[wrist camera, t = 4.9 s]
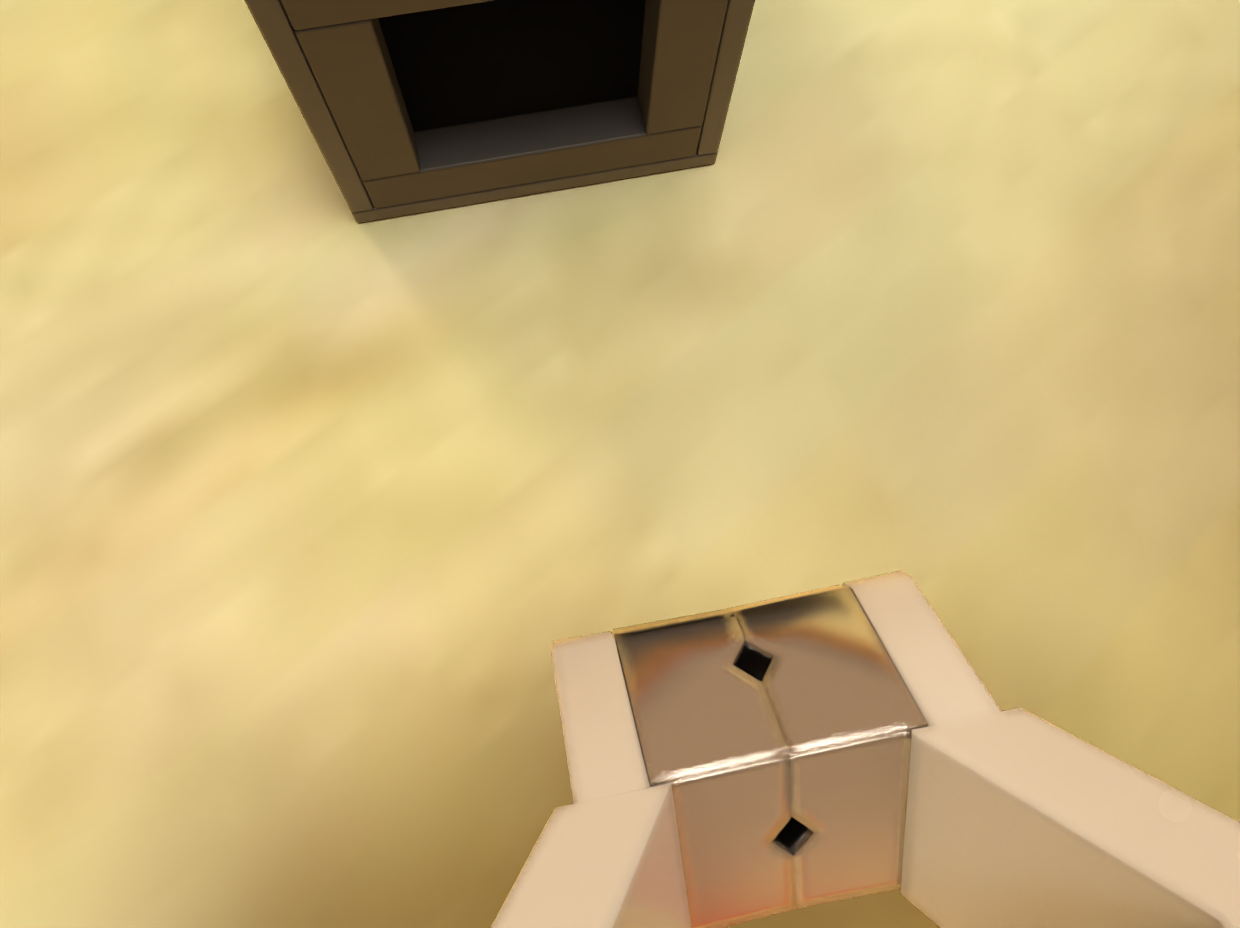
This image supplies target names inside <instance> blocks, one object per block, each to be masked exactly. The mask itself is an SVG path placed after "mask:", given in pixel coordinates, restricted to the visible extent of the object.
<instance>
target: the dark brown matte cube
mask: <svg viewBox="0 0 1240 928" xmlns="http://www.w3.org/2000/svg"><path fill="white" fill-rule="evenodd" d="M245 2H246V4H247V6H248V8H249V10H250V12H251V14H252V16H253V18H254V20H255V22H256V24H257V26H258V28H259V30H260V32H261V34H262V36H263V38H264V40H265V42H266V44H267V46H268V48H269V49H270V51H271V53H272V55H273V57H274V59H275V61H276V63H277V65H278V67H279V69H280V71H281V73H282V75H283V77H284V79H285V81H286V83H287V85H288V87H289V89H290V91H291V93H292V95H293V97H294V99H295V101H296V103H297V105H298V107H299V109H300V111H301V113H302V115H303V117H304V119H305V121H306V123H307V125H308V127H309V129H310V131H311V133H312V135H313V136H314V138H315V140H316V142H317V144H318V146H319V148H320V150H321V152H322V154H323V156H324V158H325V160H326V162H327V164H328V166H329V168H330V170H331V172H332V174H333V176H334V178H335V180H336V182H337V184H338V186H339V188H340V190H341V192H342V194H343V196H344V198H345V200H346V202H347V204H348V206H349V208H350V210H351V211H352V214H353V216H354V218H355V220H356V221H357V223H361V222H367V221H373V220H379V219H385V218H391V217H397V216H403V215H409V214H415V213H421V212H427V211H433V210H439V209H445V208H451V207H457V206H463V205H469V204H475V203H481V202H487V201H493V200H499V199H505V198H511V197H517V196H523V195H529V194H535V193H541V192H547V191H553V190H559V189H565V188H571V187H577V186H583V185H589V184H595V183H601V182H607V181H613V180H619V179H625V178H631V177H637V176H643V175H649V174H655V173H661V172H667V171H673V170H679V169H685V168H691V167H697V166H703V165H709V164H714V163H715V160H716V156H717V151H718V148H719V144H720V140H721V136H722V132H723V128H724V124H725V120H726V115H727V111H728V107H729V103H730V99H731V95H732V91H733V87H734V83H735V79H736V75H737V71H738V67H739V63H740V59H741V55H742V51H743V47H744V43H745V39H746V35H747V31H748V26H749V22H750V18H751V14H752V10H753V6H754V2H755V0H245Z"/></svg>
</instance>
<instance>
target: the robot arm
mask: <svg viewBox="0 0 1240 928" xmlns="http://www.w3.org/2000/svg"><path fill="white" fill-rule="evenodd" d="M613 636H614V637H613ZM551 656H552V663H553V670H554V676H555V683H556V690H557V696H558V703H559V710H560V716H561V723H562V730H563V736H564V743H565V750H566V756H567V763H568V770H569V776H570V783H571V790H572V796H573V804H569V805H565V806H561V807H556V808H554V810H553V812H552V814H551V815H550V817H549V819H548V821H547V823H546V825H545V827H544V829H543V830H542V832H541V834H540V836H539V838H538V840H537V842H536V844H535V845H534V847H533V849H532V851H531V853H530V855H529V857H528V859H527V860H526V862H525V864H524V866H523V868H522V870H521V872H520V873H519V875H518V877H517V879H516V881H515V883H514V885H513V887H512V888H511V890H510V892H509V894H508V896H507V898H506V900H505V902H504V903H503V905H502V907H501V909H500V911H499V913H498V915H497V917H496V918H495V920H494V922H493V924H492V926H491V928H724V927H727V926H731V925H735V924H739V923H743V922H747V921H751V920H754V919H758V918H762V917H766V916H770V915H774V914H778V913H782V912H785V911H789V910H793V909H798V908H803V907H808V906H813V905H818V904H823V903H828V902H833V901H838V900H843V899H848V898H853V897H858V896H864V895H869V894H874V893H879V892H884V891H889V890H894V889H899V888H901V895H903V896H904V897H905V898H906V899H907V900H908V901H910V902H911V903H912V904H913V905H914V906H915V907H917V908H918V909H919V910H920V911H921V912H922V913H924V914H925V915H926V916H927V917H928V918H929V919H931V920H932V921H933V922H934V923H935V924H936V925H937V926H939V927H940V928H1240V822H1238V821H1237V820H1235V819H1233V818H1231V817H1229V816H1227V815H1225V814H1223V813H1221V812H1219V811H1217V810H1216V809H1214V808H1212V807H1210V806H1208V805H1206V804H1204V803H1202V802H1200V801H1198V800H1196V799H1194V798H1193V797H1191V796H1189V795H1187V794H1185V793H1183V792H1181V791H1179V790H1177V789H1175V788H1173V787H1172V786H1170V785H1168V784H1166V783H1164V782H1162V781H1160V780H1158V779H1156V778H1154V777H1152V776H1151V775H1149V774H1147V773H1145V772H1143V771H1141V770H1139V769H1137V768H1135V767H1133V766H1131V765H1130V764H1128V763H1126V762H1124V761H1122V760H1120V759H1118V758H1116V757H1114V756H1112V755H1110V754H1108V753H1107V752H1105V751H1103V750H1101V749H1099V748H1097V747H1095V746H1093V745H1091V744H1089V743H1087V742H1086V741H1084V740H1082V739H1080V738H1078V737H1076V736H1074V735H1072V734H1070V733H1068V732H1066V731H1065V730H1063V729H1061V728H1059V727H1057V726H1055V725H1053V724H1051V723H1049V722H1047V721H1045V720H1044V719H1042V718H1040V717H1038V716H1036V715H1034V714H1032V713H1030V712H1028V711H1026V710H1024V709H1022V708H1015V709H1010V710H1004V711H1001V709H1000V708H999V706H998V705H997V703H996V702H995V700H994V699H993V697H992V696H991V694H990V693H989V691H988V690H987V688H986V687H985V685H984V684H983V682H982V681H981V679H980V678H979V676H978V675H977V674H976V672H975V671H974V669H973V668H972V666H971V665H970V663H969V662H968V660H967V659H966V657H965V656H964V654H963V653H962V651H961V650H960V648H959V647H958V645H957V644H956V642H955V641H954V639H953V638H952V636H951V635H950V634H949V632H948V631H947V629H946V628H945V626H944V625H943V623H942V622H941V620H940V619H939V617H938V616H937V614H936V613H935V611H934V610H933V608H932V607H931V605H930V604H929V602H928V601H927V599H926V598H925V596H924V595H923V593H922V592H921V591H920V589H919V588H918V586H917V585H916V583H915V582H914V580H913V579H912V577H911V576H909V575H907V574H906V573H904V572H902V571H896V572H891V573H887V574H882V575H878V576H873V577H869V578H864V579H860V580H855V581H851V582H846V583H843V585H842V586H841V585H835V586H831V587H826V588H821V589H816V590H812V591H807V592H802V593H798V594H793V595H788V596H783V597H779V598H774V599H769V600H764V601H760V602H755V603H750V604H746V605H741V606H736V607H731V608H727V609H723V610H717V611H712V612H706V613H701V614H695V615H689V616H684V617H678V618H673V619H667V620H662V621H656V622H650V623H645V624H639V625H634V626H628V627H622V628H617V629H613V634H612V632H611V631H608V632H602V633H597V634H591V635H585V636H579V637H574V638H568V639H562V640H557V641H552V652H551Z"/></svg>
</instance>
